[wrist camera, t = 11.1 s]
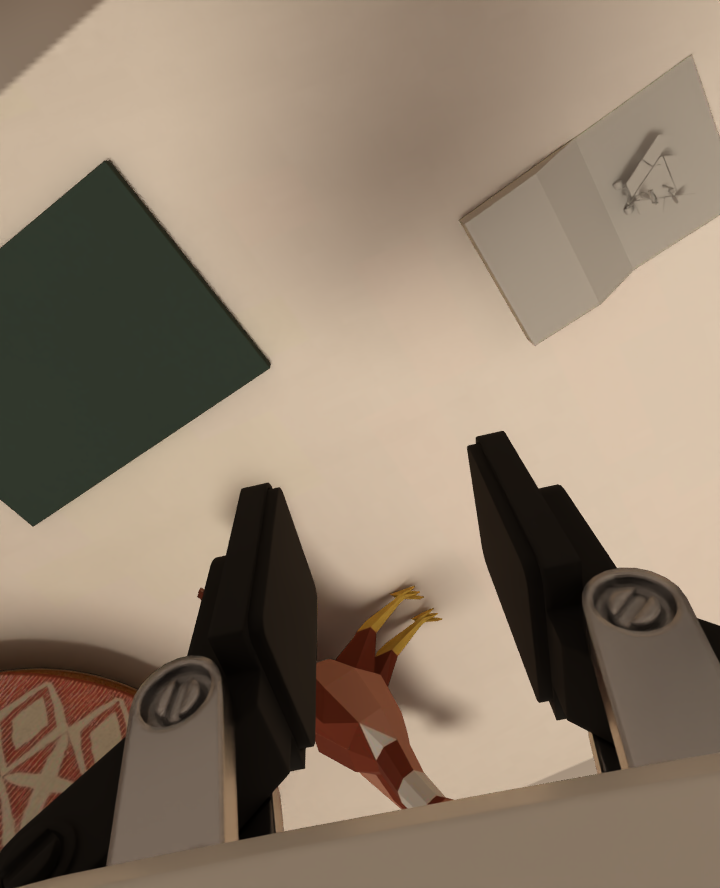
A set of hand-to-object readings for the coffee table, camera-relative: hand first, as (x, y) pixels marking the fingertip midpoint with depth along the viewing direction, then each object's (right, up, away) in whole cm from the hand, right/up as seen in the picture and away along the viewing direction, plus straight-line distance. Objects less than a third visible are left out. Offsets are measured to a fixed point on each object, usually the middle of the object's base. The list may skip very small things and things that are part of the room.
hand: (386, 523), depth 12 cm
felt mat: (-16, +6, +19) cm, 26 cm away
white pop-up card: (+11, +13, +17) cm, 24 cm away
